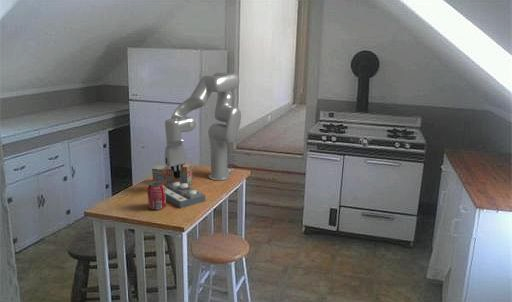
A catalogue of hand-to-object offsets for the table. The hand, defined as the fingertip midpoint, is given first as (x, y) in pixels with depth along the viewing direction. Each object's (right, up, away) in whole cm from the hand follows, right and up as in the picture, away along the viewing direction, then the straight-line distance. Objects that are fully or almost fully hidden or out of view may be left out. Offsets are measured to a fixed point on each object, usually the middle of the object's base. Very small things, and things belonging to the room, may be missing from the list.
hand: (177, 177), depth 205 cm
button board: (+3, -10, -6) cm, 12 cm away
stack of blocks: (-5, -5, +14) cm, 16 cm away
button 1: (-1, -5, +1) cm, 5 cm away
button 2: (+10, -8, -11) cm, 17 cm away
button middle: (+5, -5, -6) cm, 9 cm away
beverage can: (-6, -13, -18) cm, 23 cm away
